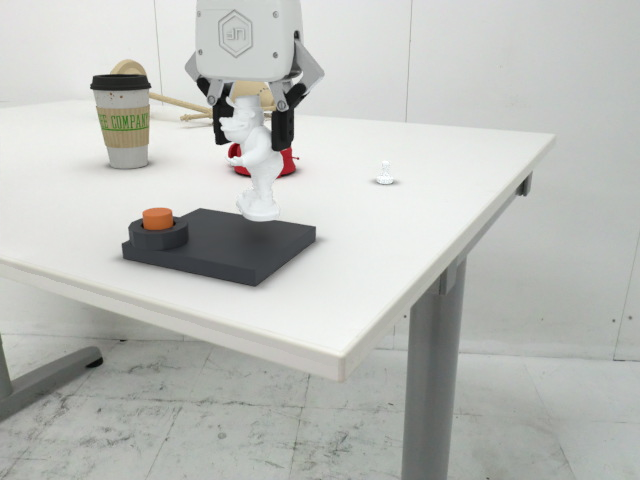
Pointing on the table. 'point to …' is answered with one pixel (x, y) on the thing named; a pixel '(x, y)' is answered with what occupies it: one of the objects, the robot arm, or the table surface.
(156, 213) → the button
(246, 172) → the alarm clock
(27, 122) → the table surface
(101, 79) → the coffee cup
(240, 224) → the scale
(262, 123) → the figurine
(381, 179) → the chess pawn
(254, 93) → the desk lamp
